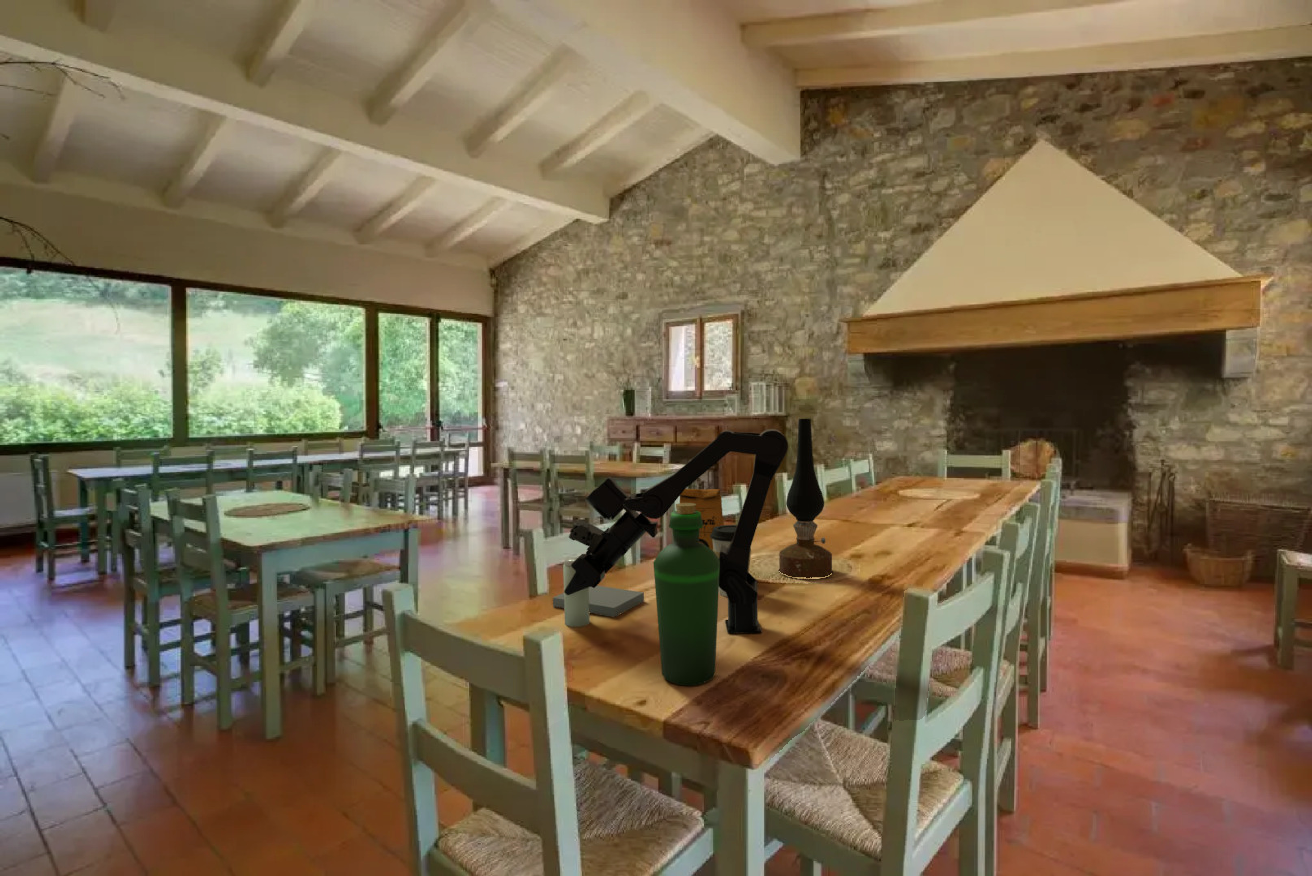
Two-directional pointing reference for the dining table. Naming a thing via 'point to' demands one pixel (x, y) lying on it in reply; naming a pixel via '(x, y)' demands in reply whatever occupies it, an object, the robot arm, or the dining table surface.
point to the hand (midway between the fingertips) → (569, 589)
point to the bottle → (687, 601)
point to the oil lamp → (805, 515)
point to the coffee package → (706, 511)
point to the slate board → (607, 600)
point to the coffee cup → (723, 542)
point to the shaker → (575, 599)
